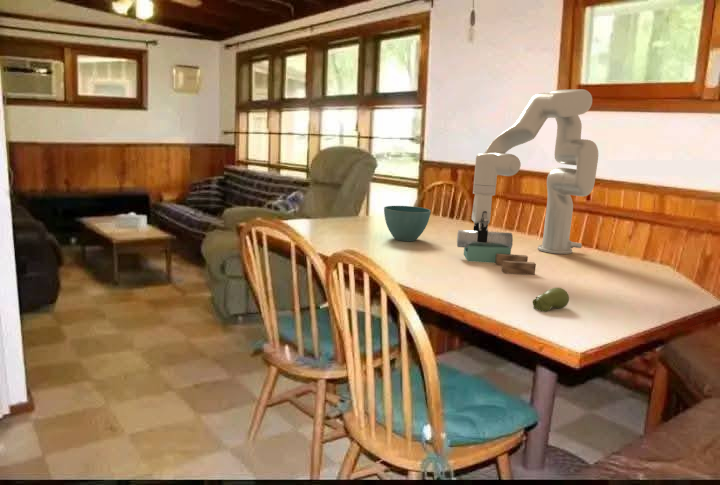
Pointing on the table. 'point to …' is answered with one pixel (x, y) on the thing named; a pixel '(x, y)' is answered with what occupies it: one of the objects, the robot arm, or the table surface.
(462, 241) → the steel axle
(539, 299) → the pear
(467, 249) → the teal V-block
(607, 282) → the table surface
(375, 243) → the table surface
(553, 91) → the robot arm
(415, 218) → the teal bowl
